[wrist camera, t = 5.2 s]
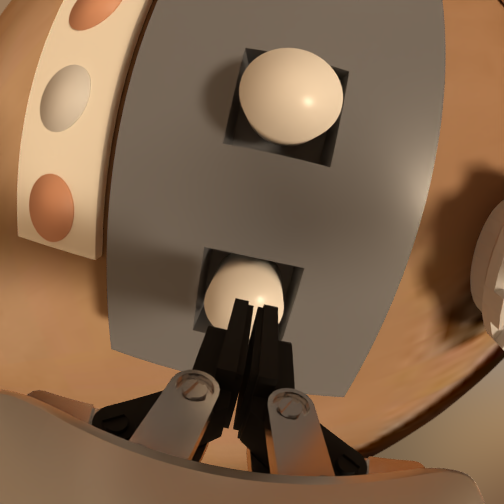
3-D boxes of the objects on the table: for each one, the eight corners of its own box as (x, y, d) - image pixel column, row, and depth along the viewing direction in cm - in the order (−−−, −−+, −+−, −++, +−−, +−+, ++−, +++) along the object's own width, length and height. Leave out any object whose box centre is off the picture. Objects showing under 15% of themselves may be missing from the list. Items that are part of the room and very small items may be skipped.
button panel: (215, -64, 9) (208, -89, 6) (418, -19, 10) (436, -37, 6) (131, 322, 19) (111, 348, 16) (335, 365, 20) (343, 397, 16)
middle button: (254, 65, 12) (250, 40, 9) (332, 82, 12) (349, 62, 9) (238, 137, 13) (229, 129, 10) (317, 154, 13) (332, 152, 10)
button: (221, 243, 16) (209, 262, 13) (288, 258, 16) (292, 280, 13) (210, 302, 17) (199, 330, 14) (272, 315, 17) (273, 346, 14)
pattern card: (75, -8, 11) (68, -12, 10) (165, -27, 11) (160, -35, 10) (25, 233, 18) (16, 236, 17) (102, 255, 18) (93, 261, 17)
